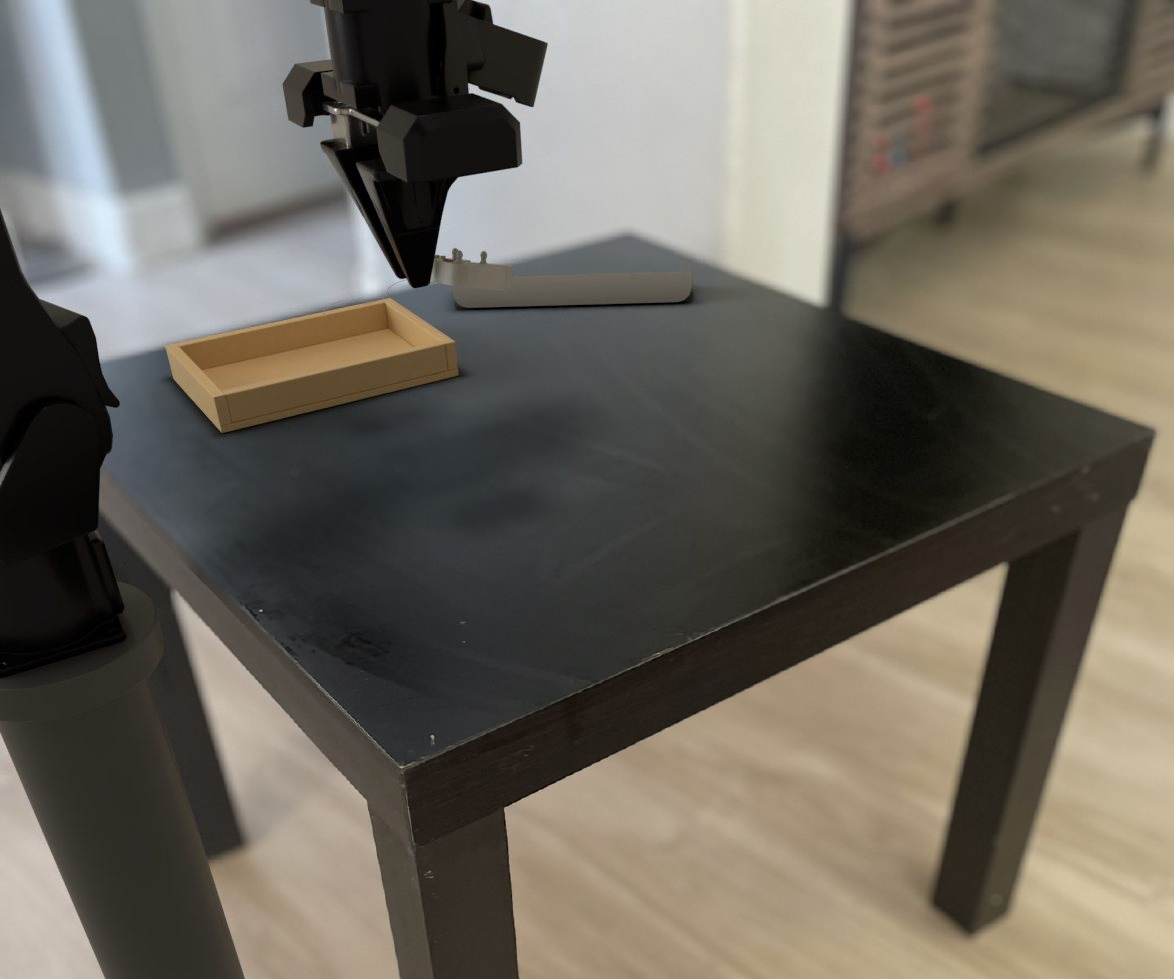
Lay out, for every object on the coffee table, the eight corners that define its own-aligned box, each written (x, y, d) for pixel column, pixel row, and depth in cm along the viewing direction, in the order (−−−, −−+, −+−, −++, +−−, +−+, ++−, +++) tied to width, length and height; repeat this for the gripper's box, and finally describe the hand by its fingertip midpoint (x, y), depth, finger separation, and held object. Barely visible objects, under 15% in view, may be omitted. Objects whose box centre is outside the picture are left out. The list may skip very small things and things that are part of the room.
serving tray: (221, 433, 81) (213, 397, 79) (173, 379, 89) (164, 345, 87) (459, 375, 88) (455, 340, 86) (394, 329, 95) (390, 297, 94)
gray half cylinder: (457, 292, 102) (455, 270, 101) (690, 286, 101) (690, 264, 100) (452, 310, 99) (450, 287, 97) (693, 303, 98) (693, 280, 97)
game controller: (538, 288, 72) (534, 240, 70) (391, 328, 65) (384, 276, 63) (470, 281, 75) (465, 236, 74) (324, 319, 68) (315, 269, 66)
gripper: (611, -46, 56) (616, 299, 66) (445, -71, 69) (471, 221, 79) (388, -23, 52) (429, 340, 62) (256, -55, 65) (307, 251, 75)
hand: (413, 281), depth 70 cm, fingers closed on game controller, 2 cm apart
